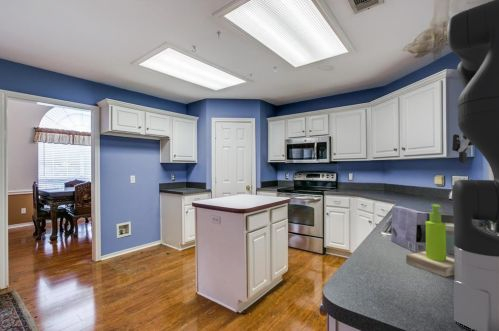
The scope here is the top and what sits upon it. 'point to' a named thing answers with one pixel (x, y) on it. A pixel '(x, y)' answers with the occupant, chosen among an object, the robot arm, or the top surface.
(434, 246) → the soap dispenser
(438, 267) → the birch stand
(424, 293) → the top surface
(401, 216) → the cake pan box
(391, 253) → the top surface
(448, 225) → the coffee cup
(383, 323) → the top surface
